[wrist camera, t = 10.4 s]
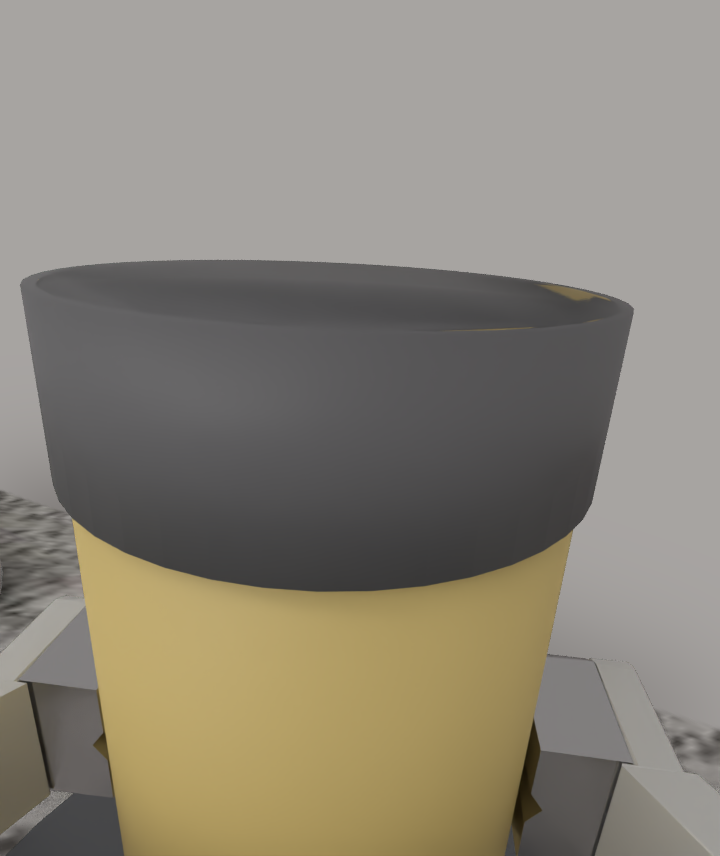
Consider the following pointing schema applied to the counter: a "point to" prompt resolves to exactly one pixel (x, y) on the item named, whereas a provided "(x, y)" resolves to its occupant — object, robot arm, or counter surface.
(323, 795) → the yellow lidded tumbler
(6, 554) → the counter surface
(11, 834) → the counter surface
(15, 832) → the counter surface
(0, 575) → the sloped support bracket
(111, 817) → the plate
